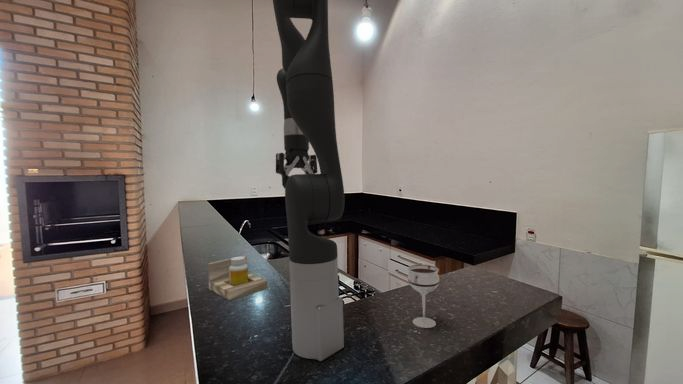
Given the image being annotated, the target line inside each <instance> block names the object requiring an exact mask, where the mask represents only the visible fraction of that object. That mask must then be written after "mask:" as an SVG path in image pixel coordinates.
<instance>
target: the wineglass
mask: <svg viewBox="0 0 683 384" xmlns="http://www.w3.org/2000/svg"><path fill="white" fill-rule="evenodd" d="M407 269H408V274H407V280H408V282H407V283H408V284H409V286H411V288H412V289H413V290H414V291H416V292H419V294H421V304H422V316H421V317H420V316H419V317H415V318H413V320H412V323H413V325H414V326H417V327H419V328H424V329H425V328H426V329H428V328H429V329H430V328H434V327H436V325H437V323H436V321H435V320H434V319H432V318H429V317H426V295H427V294H428V293H431V292H433V291H434V290H435V289H437V288H438V286H439V284H440V275H439V274H438V273H439V271H440V269H439V268H438V266H436V265H435V266H434V265H429V264H412V265H410V266H408V267H407Z"/></svg>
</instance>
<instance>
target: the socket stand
mask: <svg viewBox="0 0 683 384" xmlns="http://www.w3.org/2000/svg"><path fill="white" fill-rule="evenodd" d="M238 257H245V264H247V265H248V256H247V255H240V256H239V255H238ZM232 258H233V257H230V258H226V259H220V260H217V261H211V262H208V263H207V271H208V272H207V274H208V275H207V277H208V290H210V291H212V292H213V293H216V295H219V296H220V297H223V298H224V299H225V300H227V301H231V300H232V301H233V300H235V299H238V298H242V297H245V296H248V295H251V294H255V293H257V292H260V291H263V290H266V289H268V280H267V279H265V278H263V277H260V276H257V275H255V274H252V273H250V272H248V283H245V284H241V285H238V286H234V287H233V286H231V285H230V284H229V267H230V266H231V265H232V264H231V259H232Z"/></svg>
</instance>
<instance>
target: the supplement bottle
mask: <svg viewBox="0 0 683 384" xmlns="http://www.w3.org/2000/svg"><path fill="white" fill-rule="evenodd" d="M231 258H232V259H231V264H232V265H231V266H230V267H229V284H230V285H231V286H233V287H234V286H238V285H241V284H245V283H248V273H249V266H248V263H247V264H245V257H239V256H235V257H231Z"/></svg>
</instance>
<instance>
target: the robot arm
mask: <svg viewBox="0 0 683 384" xmlns="http://www.w3.org/2000/svg"><path fill="white" fill-rule="evenodd" d="M328 1H329V0H272V5H273V11H274V16H275V23H276V27H277V33H278V36H279V37H278V38H279V40H280V46H281V47H280V48H281V64H282V68H280V69H279V70H278V72H277V73H276V83H277V86H278V89H279V92H280V96H281V99H282V105H283V120H284V121H283V145H284V147H283V149H284V152H285V153H284V152H278V153H276V154H275V174H278V175H281V185H282V187H283V189H284V201H285V211H286V222H287V235H288V236H287V237H288V238H287V239H288V260H289V262H288V265H289V287H290V288H289V289H290V290H289V291H290V317H291V318H290V320H291V341H292V344H291V345H292V346H291V347H292V351H293V353H294V354H295V355H297V356H298V357H301V358H303V359H308V360H309V359H311V360H317V361H319V362H323V361H324V360H325V359H327V358H328V357H330V356H332V355H334V354H335V353H337V352H339V351H340V350H342V349H343V348H344V346H345V338H344V337H345V335H344V310H343V309H344V305H343V303H344V302H343V298H342V297H340V296H339V265H338V262H339V259H338V256H339V255H338V245H337V243H336V241H334V240H332V239H330V238H327V237H321V236H318V235H316V234H314V233H312V232H311V231H309V228H308V227H309V226H308V223H309V224H310V223H311V224H312V223H322V222H334V221H337V220H339V219H341V218H342V216H343V214H344V211H345V203H346V202H345V189H344V188H345V187H344V181H343V180H344V179H343V175H342V167H341V162H340V155H339V150H338V142H337V129H336V115H335V114H336V111H335V94H334V81H333V72H332V65H331V54H330V53H331V52H330V44H329V2H328ZM292 19H305V20H306V19H307V20H311V25H310V28H309V31H308V34H307V36H306V38H305V37H304V35H302V33H301V32H300V31H299V30H298V28H297V27H296V25H295V24H294V22H293V20H292ZM310 146H311V148H312V149H313V151H314V154H310V155H309V152H308V151H309V150H310ZM285 161H286V162H285ZM318 167H319V171H320V173H318ZM293 169H300V170H301V171H303V173H301V174H300V173H299V174H298V173H297V174H291V175H290V173H291V172H292V171H293Z"/></svg>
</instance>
